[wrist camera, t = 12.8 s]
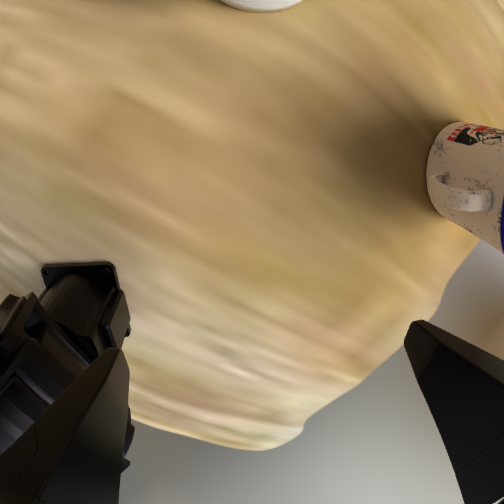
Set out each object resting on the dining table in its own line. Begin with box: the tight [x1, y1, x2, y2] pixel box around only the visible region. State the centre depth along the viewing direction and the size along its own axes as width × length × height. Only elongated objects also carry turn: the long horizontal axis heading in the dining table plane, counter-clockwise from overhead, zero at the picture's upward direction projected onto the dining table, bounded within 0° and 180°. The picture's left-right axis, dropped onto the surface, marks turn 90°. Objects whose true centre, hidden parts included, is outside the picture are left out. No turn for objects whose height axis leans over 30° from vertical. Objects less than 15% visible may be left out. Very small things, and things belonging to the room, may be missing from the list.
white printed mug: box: [426, 122, 504, 254], centre depth 14 cm, size 12×9×12 cm
